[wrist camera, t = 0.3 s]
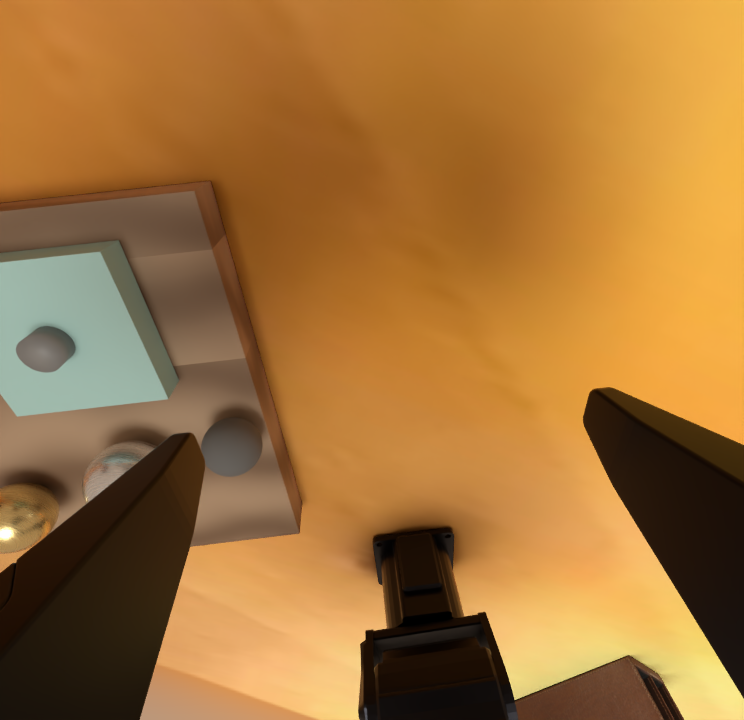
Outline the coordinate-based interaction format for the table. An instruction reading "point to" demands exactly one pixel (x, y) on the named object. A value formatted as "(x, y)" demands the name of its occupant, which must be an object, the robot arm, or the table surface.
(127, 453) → the steel ball
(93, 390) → the cover
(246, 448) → the matte grey ball
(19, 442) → the board
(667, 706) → the letter holder
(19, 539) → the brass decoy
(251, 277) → the table surface
